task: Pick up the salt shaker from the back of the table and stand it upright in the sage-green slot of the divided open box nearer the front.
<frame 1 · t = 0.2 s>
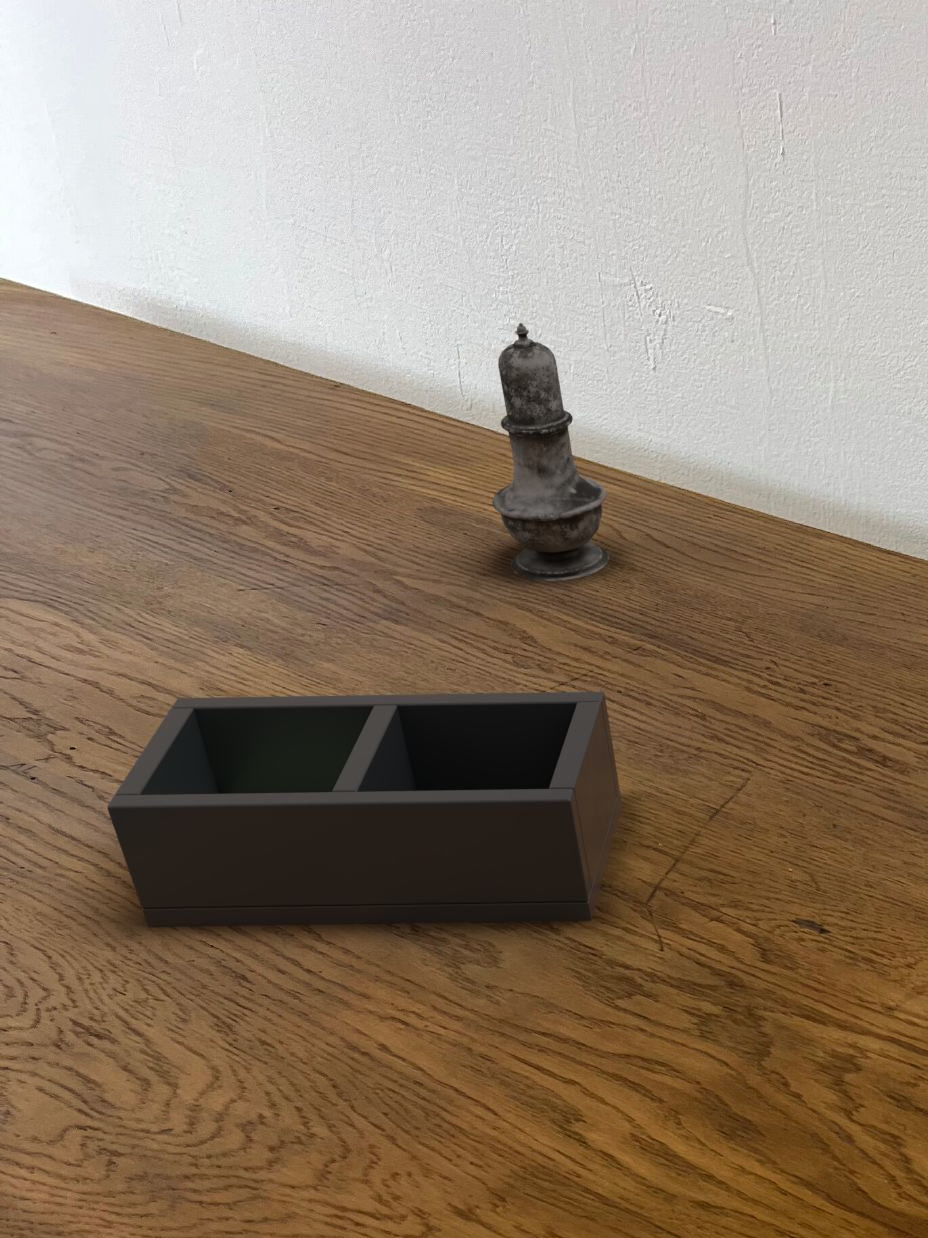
salt shaker: (561, 567, 111), on the table
divided open box: (395, 868, 87), on the table
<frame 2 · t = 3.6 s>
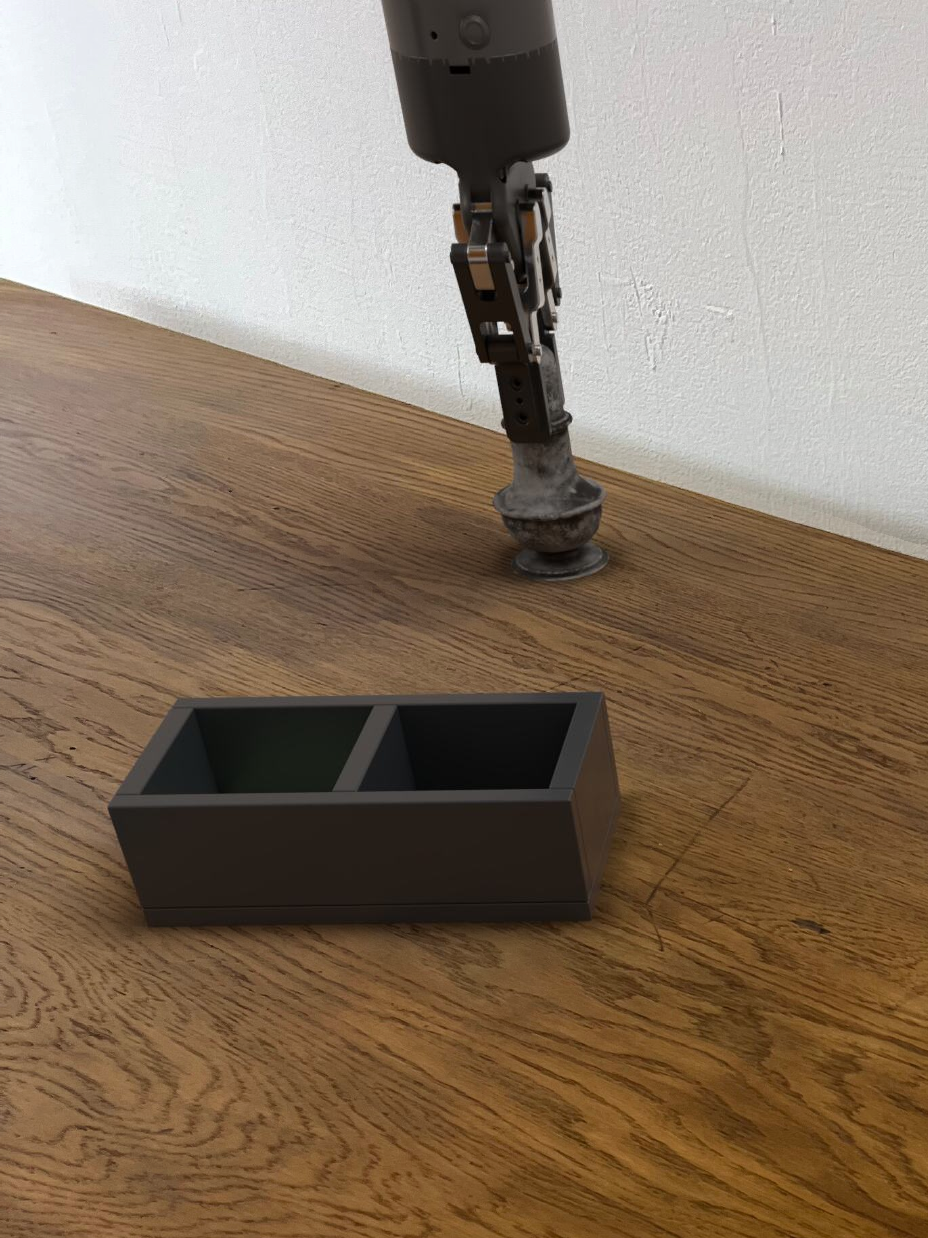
hand: (537, 424, 105), 7 cm above the table, tool pointing down, fingers closed on salt shaker, 3 cm apart
salt shaker: (561, 567, 111), on the table, touching gripper
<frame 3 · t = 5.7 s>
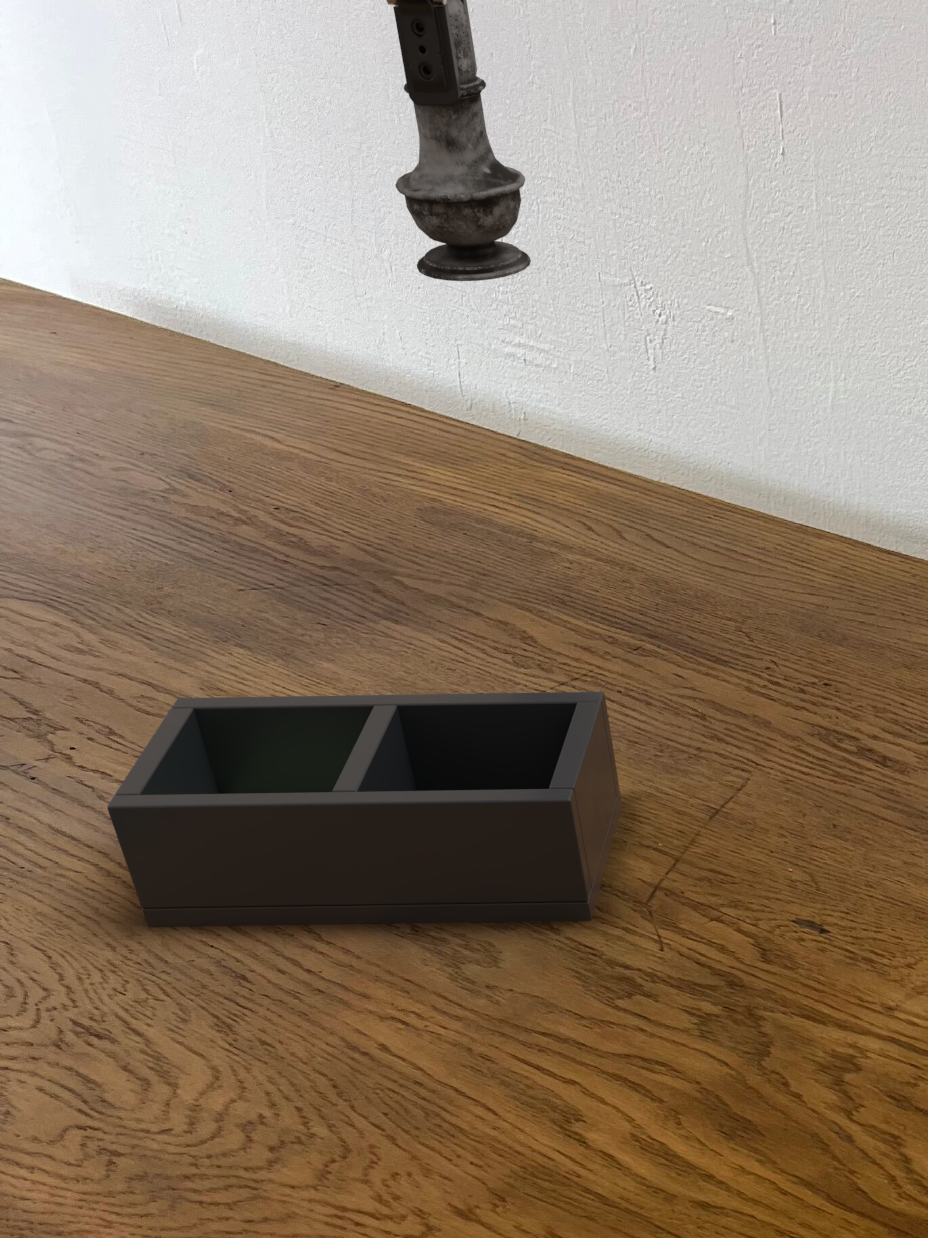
hand: (444, 90, 93), 23 cm above the table, tool pointing down, fingers closed on salt shaker, 3 cm apart
salt shaker: (474, 269, 98), point 15 cm above the table, touching gripper
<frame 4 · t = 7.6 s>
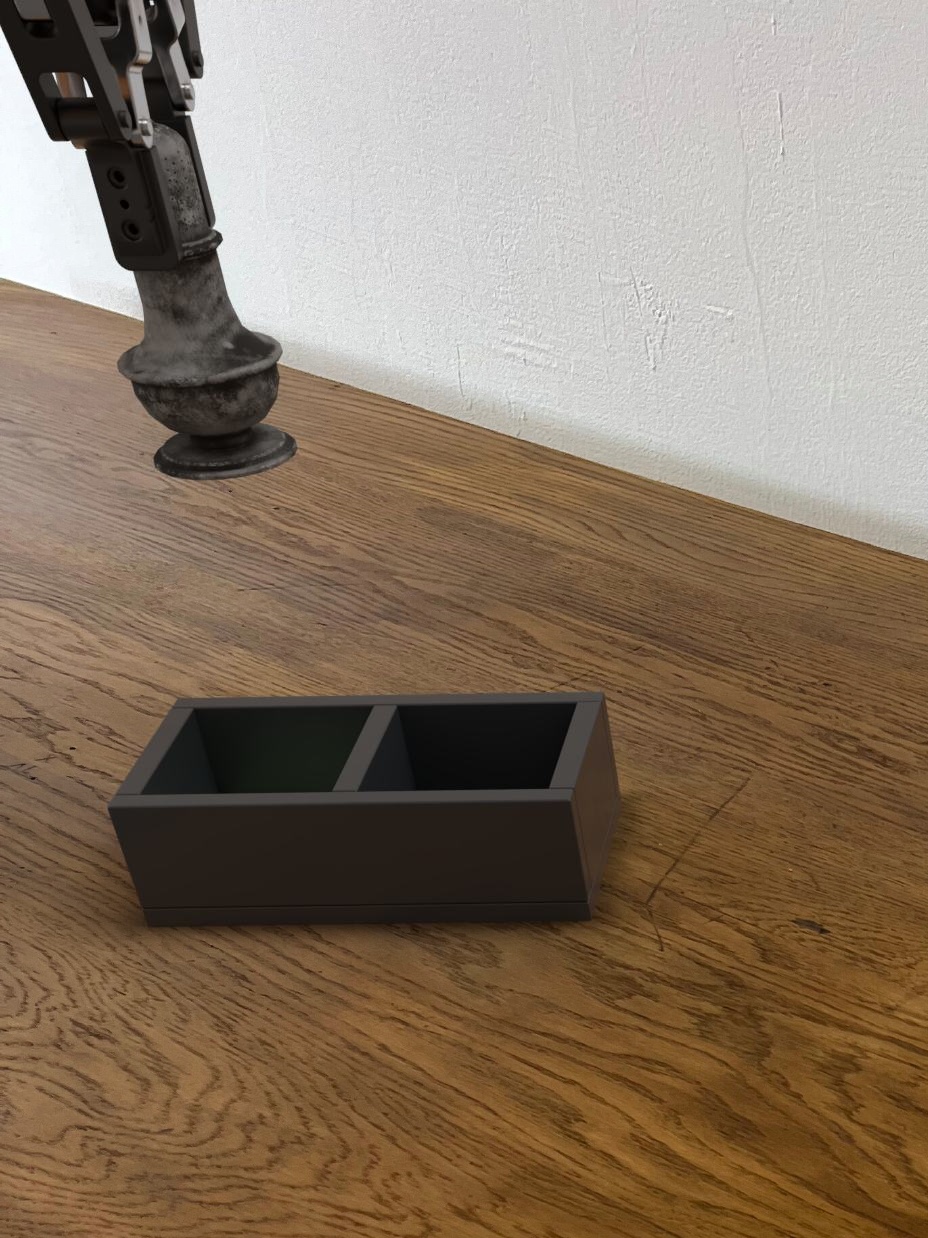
hand: (169, 247, 74), 23 cm above the table, tool pointing down, fingers closed on salt shaker, 3 cm apart
salt shaker: (227, 460, 79), point 16 cm above the table, touching gripper
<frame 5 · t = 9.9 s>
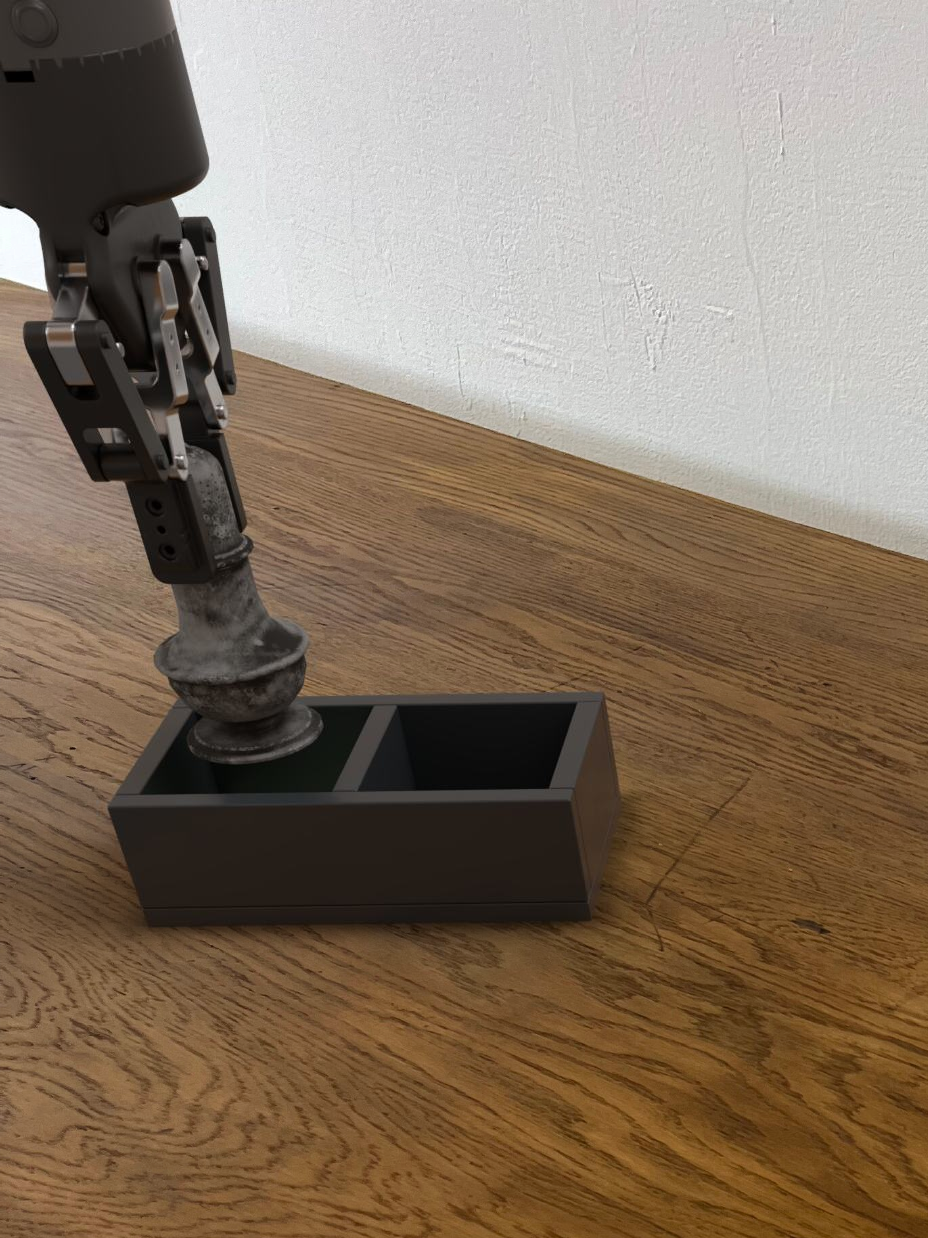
hand: (203, 555, 78), 13 cm above the table, tool pointing down, fingers closed on salt shaker, 3 cm apart
salt shaker: (257, 738, 83), point 6 cm above the table, touching gripper
when the fingers open (8 cm above the table, at t = 11.5 s): salt shaker stays where it is, resting on divided open box.
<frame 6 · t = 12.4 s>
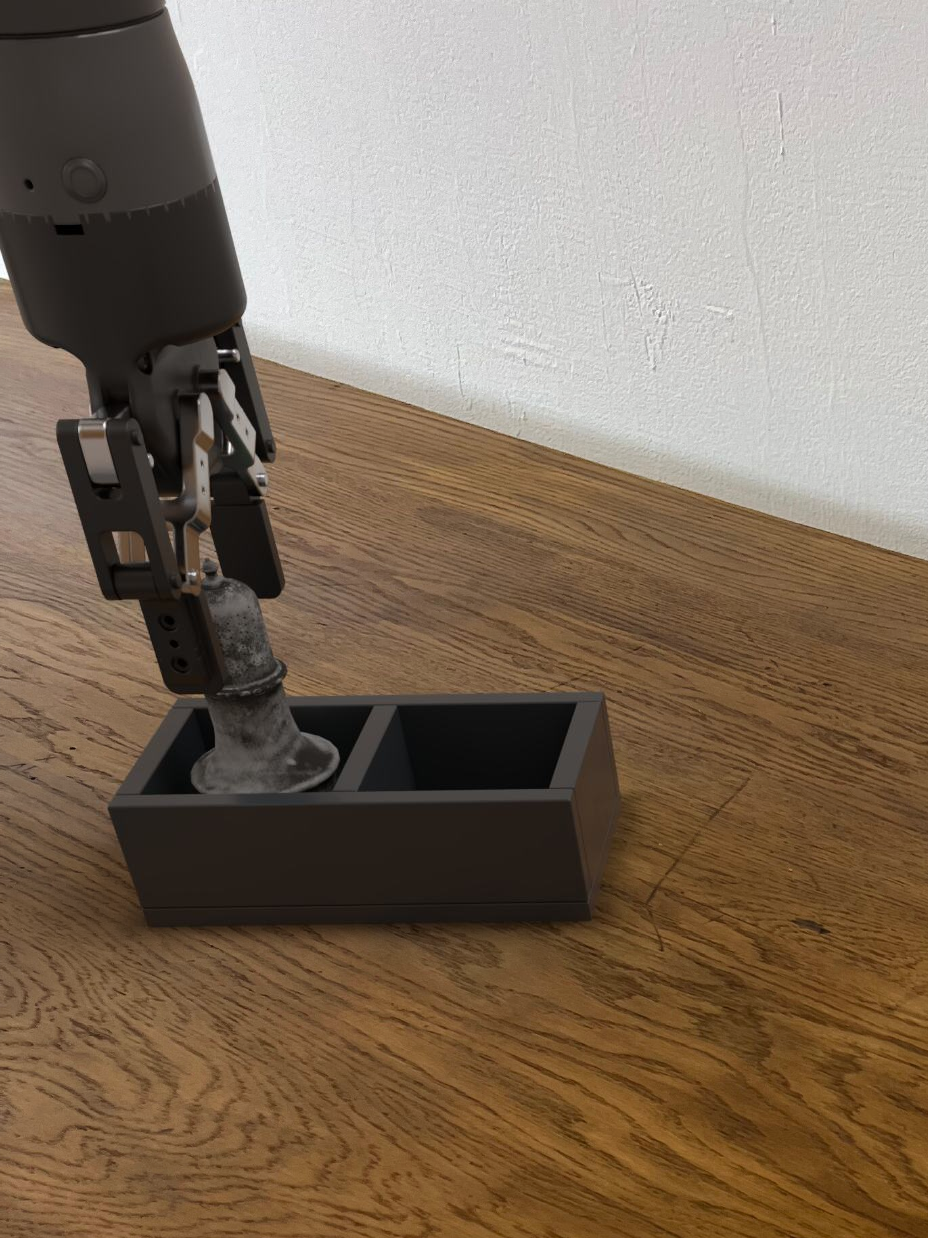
hand: (230, 641, 80), 10 cm above the table, tool pointing down, fingers open, 8 cm apart
salt shaker: (288, 848, 86), point 1 cm above the table, touching divided open box
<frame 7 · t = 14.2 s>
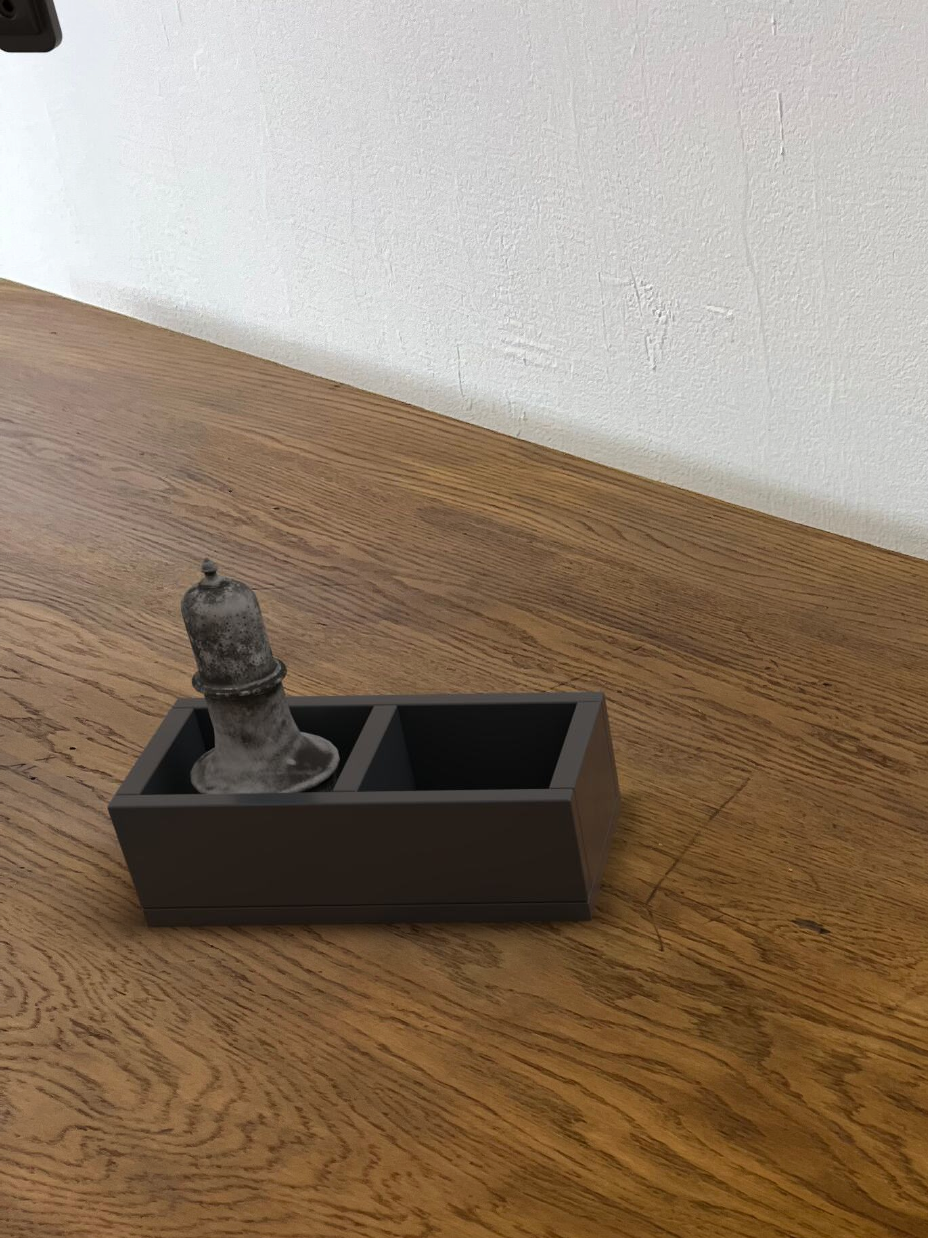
hand: (72, 23, 74), 29 cm above the table, tool pointing down, fingers open, 8 cm apart
nothing on the table moved.
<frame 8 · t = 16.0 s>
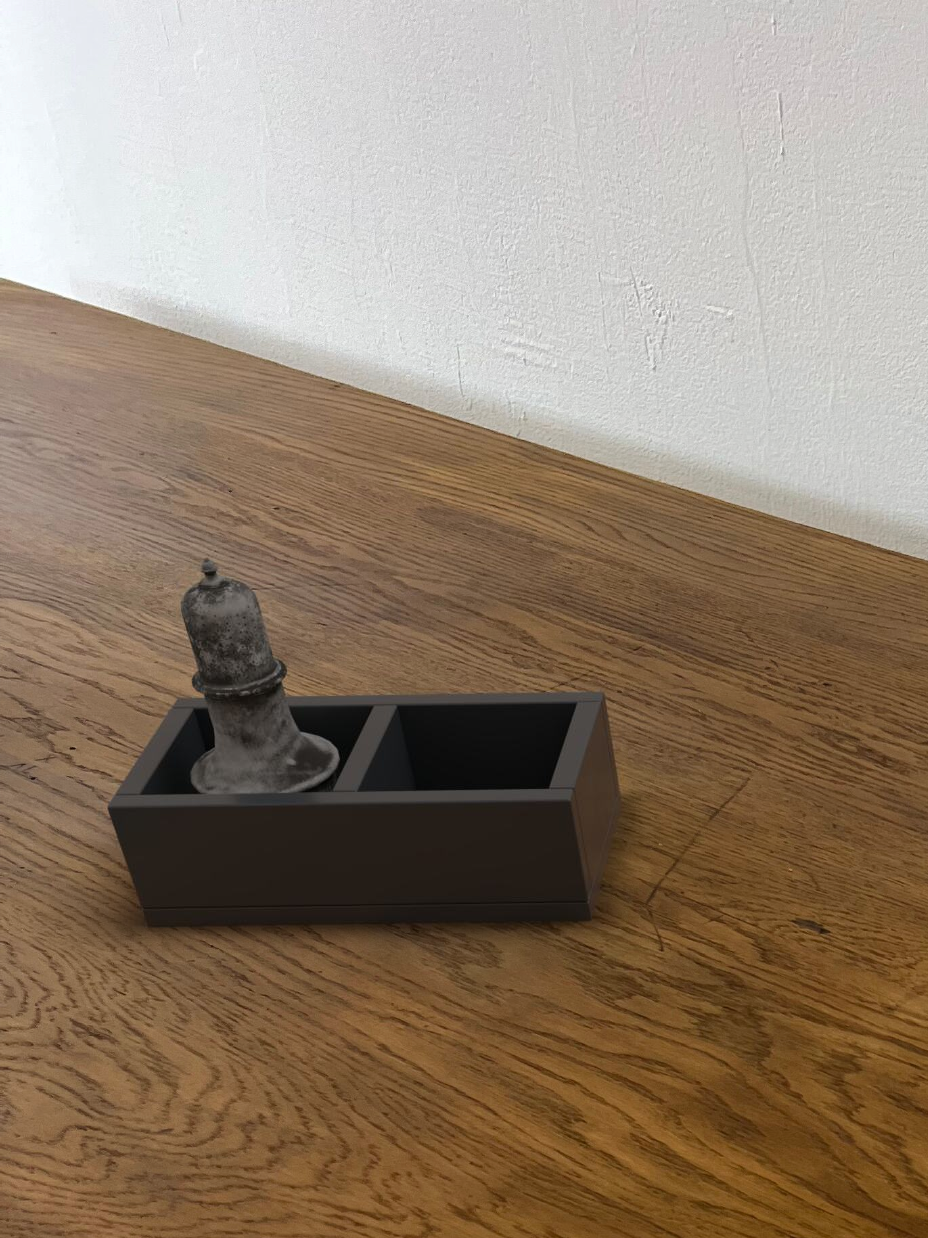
nothing on the table moved.
at the end: salt shaker 0.0 cm from the target spot in the divided open box, point 1.0 cm above the divided open box's base; salt shaker tilted 0°; the gripper is holding nothing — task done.
